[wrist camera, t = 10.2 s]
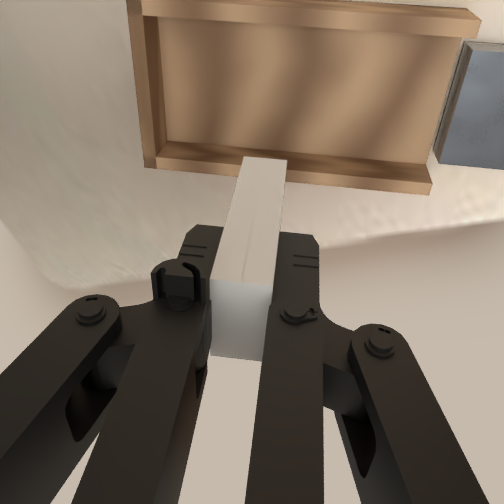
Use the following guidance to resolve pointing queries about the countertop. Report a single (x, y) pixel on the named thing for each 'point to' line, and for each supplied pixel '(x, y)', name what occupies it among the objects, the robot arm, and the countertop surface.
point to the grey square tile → (475, 110)
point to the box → (295, 86)
